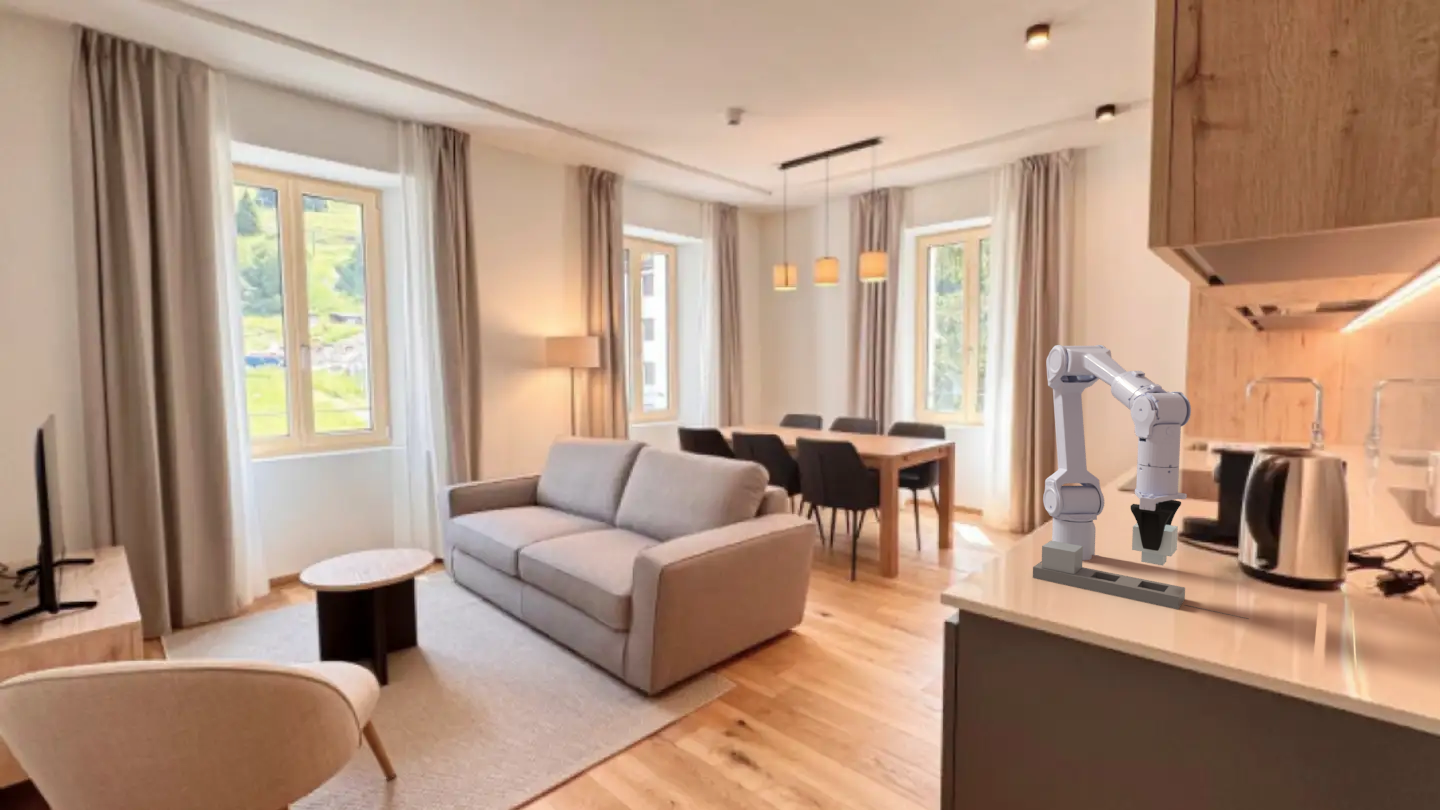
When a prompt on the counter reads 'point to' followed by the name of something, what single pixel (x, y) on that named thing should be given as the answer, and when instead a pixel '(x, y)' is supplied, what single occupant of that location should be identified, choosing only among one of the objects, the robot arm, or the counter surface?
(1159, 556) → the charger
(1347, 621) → the counter surface
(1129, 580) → the power strip
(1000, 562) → the counter surface
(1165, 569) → the counter surface
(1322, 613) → the counter surface
